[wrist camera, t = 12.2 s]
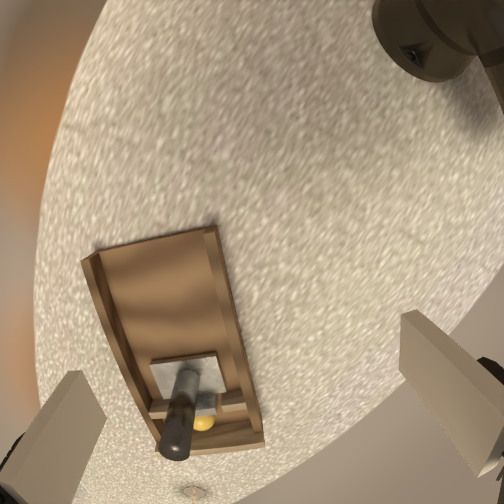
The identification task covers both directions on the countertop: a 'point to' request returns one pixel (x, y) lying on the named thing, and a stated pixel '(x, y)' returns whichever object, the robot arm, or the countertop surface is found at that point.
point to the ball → (204, 422)
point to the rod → (186, 398)
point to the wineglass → (194, 493)
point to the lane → (176, 328)
